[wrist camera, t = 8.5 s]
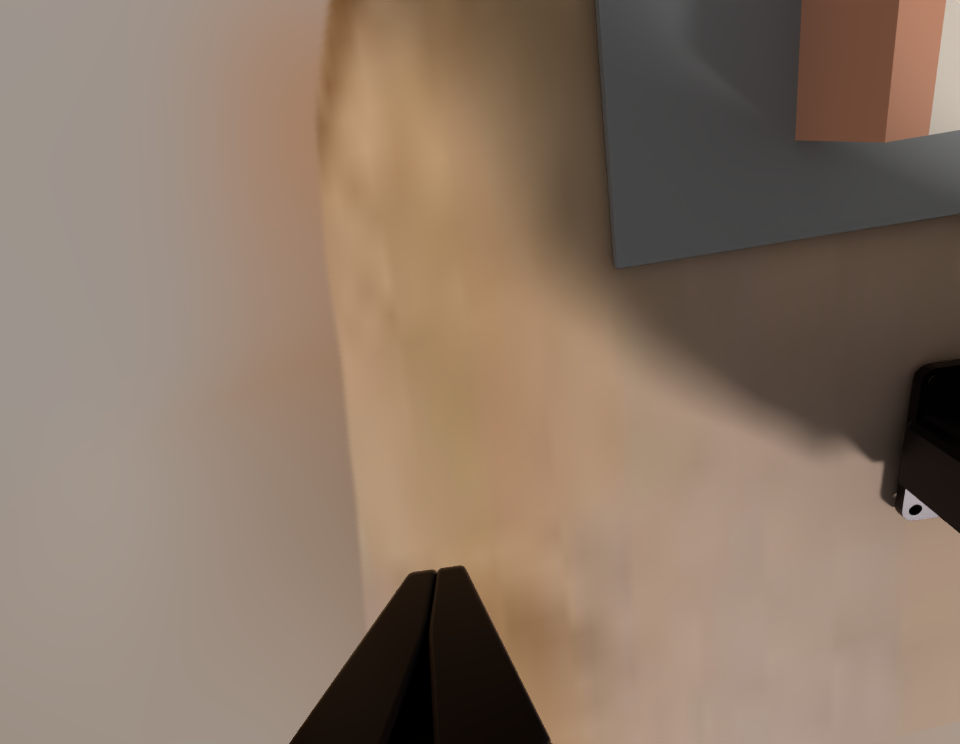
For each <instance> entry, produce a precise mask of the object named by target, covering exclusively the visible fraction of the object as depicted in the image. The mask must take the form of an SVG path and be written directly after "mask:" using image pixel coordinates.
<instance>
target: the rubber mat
mask: <svg viewBox="0 0 960 744" xmlns="http://www.w3.org/2000/svg"><path fill="white" fill-rule="evenodd" d="M801 6H802V0H595V10H596V24H597V38H598V52H599V66H600V80H601V94H602V108H603V122H604V136H605V150H606V164H607V179H608V193H609V207H610V221H611V235H612V249H613V263H614V266H615V267H616V268H617V269H620V268H626V267H632V266H639V265H645V264H651V263H657V262H663V261H670V260H676V259H682V258H688V257H694V256H701V255H707V254H713V253H719V252H725V251H732V250H738V249H744V248H750V247H756V246H763V245H769V244H775V243H781V242H787V241H794V240H800V239H806V238H812V237H818V236H825V235H831V234H837V233H843V232H849V231H855V230H862V229H868V228H874V227H880V226H886V225H893V224H899V223H905V222H911V221H917V220H924V219H930V218H936V217H942V216H948V215H955V214H960V130H957V131H951V132H945V133H939V134H933V135H927V136H921V137H915V138H909V139H903V140H897V141H891V142H885V143H882V142H842V141H801V140H795V133H796V112H797V91H798V70H799V48H800V27H801Z"/></svg>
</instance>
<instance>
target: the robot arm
mask: <svg viewBox="0 0 960 744" xmlns="http://www.w3.org/2000/svg"><path fill="white" fill-rule="evenodd" d="M934 375H935V376H934ZM932 376H934V379H933V380H932V381H931V382H929V379H930V378H931V377H932ZM913 505H914V506H913ZM912 506H913V507H912ZM910 507H911V508H910ZM895 509H896V511H897V512H898V513H899V514H900V515H901V516H903V517H904V518H905V519H907V520H920V519H928V518H935V517H941V518H942V519H943V520H944V521H945V522H947V523H948V524H949V525H950V526H952V527H953V528H954V529H955V530H956V531H958V532H959V533H960V359H957V360H951V361H944V362H937V363H931V364H927V365H924V366H922V367H921V368H919V369H918V370H917V372H916V373H915V375H914V378H913V383H912V390H911V397H910V404H909V412H908V419H907V426H906V431H905V438H904V445H903V452H902V459H901V466H900V473H899V480H898V489H897V496H896V503H895ZM289 744H552V743H551V740H550V737H549V735H548V733H547V731H546V729H545V727H544V725H543V723H542V721H541V719H540V717H539V715H538V713H537V711H536V709H535V707H534V705H533V703H532V701H531V699H530V697H529V695H528V693H527V691H526V689H525V687H524V685H523V683H522V681H521V679H520V677H519V675H518V673H517V671H516V669H515V667H514V665H513V663H512V661H511V659H510V657H509V655H508V653H507V651H506V649H505V647H504V645H503V643H502V641H501V639H500V637H499V635H498V633H497V631H496V629H495V627H494V625H493V623H492V621H491V619H490V617H489V615H488V613H487V611H486V609H485V607H484V605H483V603H482V601H481V599H480V597H479V595H478V592H477V590H476V588H475V586H474V584H473V582H472V580H471V578H470V576H469V574H468V572H467V570H466V569H465V567H464V566H453V567H446V568H441V569H439V570H438V572H436V571H435V570H425V571H417V572H412V573H410V574H409V575H408V576H407V577H406V578H405V580H404V581H403V583H402V584H401V585H400V587H399V588H398V590H397V591H396V593H395V594H394V595H393V597H392V598H391V600H390V601H389V603H388V604H387V605H386V607H385V608H384V610H383V611H382V612H381V614H380V615H379V617H378V618H377V620H376V621H375V622H374V624H373V625H372V627H371V628H370V630H369V631H368V632H367V634H366V635H365V637H364V638H363V640H362V641H361V643H360V644H359V645H358V647H357V648H356V650H355V651H354V652H353V654H352V655H351V656H350V658H349V659H348V661H347V662H346V664H345V665H344V666H343V668H342V669H341V671H340V672H339V674H338V675H337V676H336V678H335V679H334V681H333V682H332V683H331V685H330V686H329V688H328V689H327V691H326V692H325V693H324V695H323V696H322V698H321V699H320V701H319V702H318V703H317V705H316V706H315V708H314V709H313V710H312V712H311V713H310V715H309V716H308V718H307V719H306V721H305V722H304V723H303V725H302V726H301V727H300V729H299V730H298V732H297V733H296V735H295V736H294V737H293V739H292V741H291V742H290V743H289Z"/></svg>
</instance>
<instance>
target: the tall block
mask: <svg viewBox="0 0 960 744" xmlns="http://www.w3.org/2000/svg"><path fill="white" fill-rule="evenodd" d="M957 130H960V0H802V6H801V27H800V48H799V70H798V91H797V112H796V133H795V140H801V141H842V142H882V143H885V142H891V141H897V140H903V139H909V138H915V137H921V136H927V135H933V134H939V133H945V132H951V131H957Z"/></svg>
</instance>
